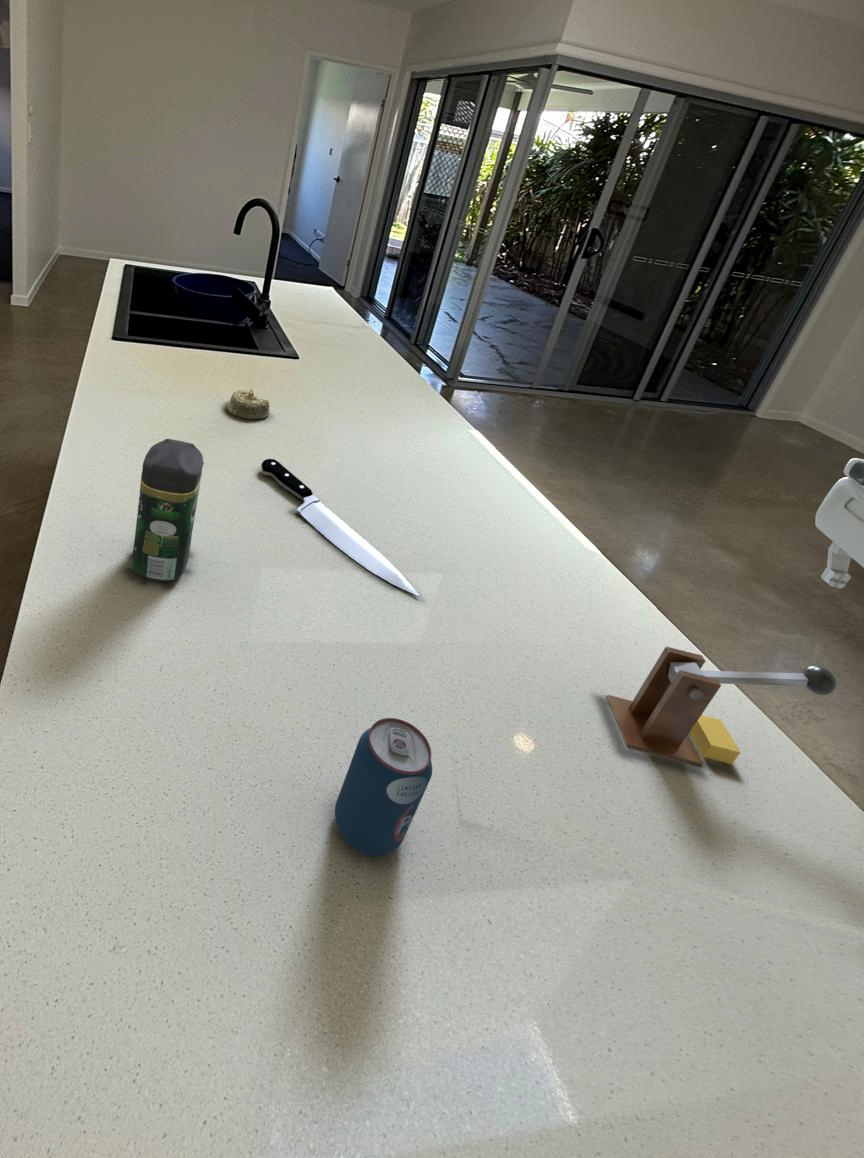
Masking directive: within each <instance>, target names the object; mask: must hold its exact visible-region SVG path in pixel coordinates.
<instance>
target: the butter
mask: <svg viewBox="0 0 864 1158" xmlns="http://www.w3.org/2000/svg"><path fill="white" fill-rule="evenodd" d="M689 734H690V736H691V737H692V740H693V741H694V743H695V745H696V747H697V749H698V751H699V753H700V755H701V756H702V757H703V758H706V759H709V760H714V761H717V762H720V763H724V764H728V765H733V763H735V761H736V759H737V758H738V757H739V755H740V754H741V751H740V749H739V748H738V746H737V744H736V743H735V741H734V739H733V738H732V736H731V734H730V733H729V731H728V729H727V728H726V726H725V723H724V722H723V721H722V720H721V719H719V718H714V717H711V716H707V715H703V714H702V715H701V716H700V718H699V719H698V721H697V722H696V724H695V725H694V726H693V728H692V729H691V731H690V732H689Z"/></svg>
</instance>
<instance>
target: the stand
mask: <svg viewBox="0 0 864 1158" xmlns="http://www.w3.org/2000/svg"><path fill="white" fill-rule="evenodd" d="M671 662H692V663H697V665H698V667H699V668H700V670H701V669H702V668H703V666H704V664H705V663H706V659H705V658H704V656H703V654H698V653H694V652H690V651H686V650H681V649H678V648H674V647H670V646H665V647H664V649H663V650H662V652H661V653H660V655H659V656H658V659H657V660H656V661H655V664H654V665H653V667H652V669H650V671H649V674H648V675H647V677H646V678H645V680H644V682H643V683H642V685H641V687H640V688H639V690H638V692H637V693H636V695H635V696H634V698H633V700H629V699H626V698H621V697H617V696H614V695H611V694H606V695H605V698H606V700H607V702H608V705H609V708H610V709H611V712H612V714H613V717H614V719H615V721H616V724H617V726H618V728H619V732H620V734H621V736H622V738H623V741H624V743H625V746H626V747H628V748H632V749H637V750H641V751H644V752H648V753H651V754H655V755H660V756H663V757H667V758H671V759H674V760H679V761H683V762H687V763H690V764H694V765H699V766H703V765H704V762H703V761H702V759H701V757H700V755H699V754H698V751H697V750H696V747H695V746H694V744H693V741H692V740H691V738H690V736H689V734H690V731H691V729H692V728H693V726H694V725H695V724H696V722H697V721H698V719H699V718H700V716H701V715H703V713H704V712H705V710H706V709H707V707H708V706H709V704H710V703H711V701H712V700H713V699H714V697H715V696H716V694H717V693H718V691H719V690H720V688H721V687H722V684H720V683H719V681H718V680H717V679H713V678H709V677H705V676H701V675H697V674H693V673H689V672H685V671H681V670H679V672H678V673H677V675H676V676H675V678H674V679H673V681H672V683H671V682H670V680H669V678H668V674H669V669H670V663H671Z"/></svg>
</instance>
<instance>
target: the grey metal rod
mask: <svg viewBox="0 0 864 1158" xmlns="http://www.w3.org/2000/svg"><path fill="white" fill-rule="evenodd" d="M679 670H681V671H685V672H689V673H693V674H697V675H701V676H705V677H709V678H713V679H717V680H718V681H719V683H720V684H721V685H752V686H781V687H782V686H783V687H784V686H786V687H789V686H790V687H805V688H806V689H807V690H808V691H809V692H811V693H813V694H815V695H820V696H828V695H831V694H832V693H834V692H835V691H836V690H837V688H838V679H837V676H836V674H835V673H833V671H832V670H830V669H829V668H827V667H825V666H821V665H809V666H807V667H806V668H804V669H803V670H802V672H772V671H771V672H768V671H767V672H766V671H765V672H763V671H728V670H701V669H700V668H699V667H698V665H697V663H692V662H671V663H670V669H669V674H668V678H669V680H670V682H671V683H672V681H673V679H674V678H675V676H676V675H677V673H678V672H679Z"/></svg>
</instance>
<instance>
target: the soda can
mask: <svg viewBox="0 0 864 1158" xmlns="http://www.w3.org/2000/svg"><path fill="white" fill-rule="evenodd" d="M351 758H352V759H351V761H350V764H349V766H348V769H347V772H346V775H345V778H344V780H343V783H342V785H341V788H340V791H339V793H338V797H337V798H336V802H335V805H334V806H335V807H334V816H335V821H336V825H337V828H338V830H339V832H340V834H341V836H342V838H343V840H344V841H345V842H346V843H347V844H348V845H349V846H350V847H351V848H352V849H353V850H355V851H356V852H358V853H360V854H362V855H365V856H367V857H368V856H369V857H379V856H385V855H386V856H387V855H389V854H391V853H393V852H395V851H396V850H397V849H399V847H400V846H401V845H402V844H403V841H404V839H405V837H406V835H407V833H408V830H409V828H410V826H411V824H412V822H413V819H414V817H415V815H416V813H417V809H418V808H419V806H420V804H421V801H422V799H423V796H424V795H425V792H426V790H427V789H428V785H429V783H430V781H431V779H432V776H433V763H432V748H431V745H430V742H429V741H428V739H427V738H426V736H425V735H424V734H423V732H421V730H419V728H417V727H416V726H415V725H413V724H411V723H410V722H408V721H405V720H403V719H400V718H396V717H386V718H381V719H378V720H377V721H375V722H374V723H373V724H372V725H371V727H369V728H368V729H366V730H364V732H363V733H362V734H361V735H360V736H359V739H358V741H357V744H356V747H355V750H354V753H353V756H352V757H351Z"/></svg>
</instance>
